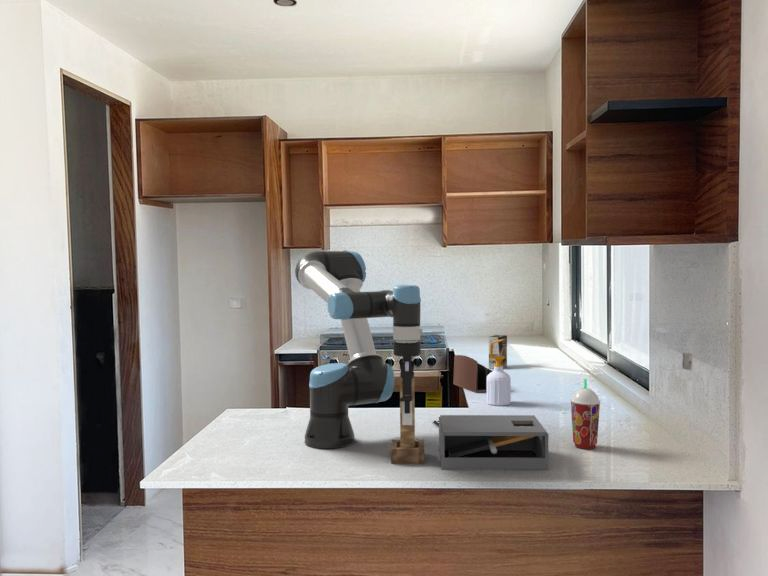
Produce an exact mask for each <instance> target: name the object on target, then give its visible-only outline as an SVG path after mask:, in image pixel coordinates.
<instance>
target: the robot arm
mask: <svg viewBox="0 0 768 576" xmlns="http://www.w3.org/2000/svg"><path fill="white" fill-rule="evenodd" d="M366 270H367V268H366V264H365V261H364V258H363V256H362V255H361V254H360V253H359V252H356V251H350V250H346V249H345V250H341V251H340V250H339V251H338V250H326V251H325V250H316V251H314V250H313V251H311V252H307V253H306V254H304V255H303V256H302V257H300V259H299V260H298V261H297V263H296V264H295V268H294V274H295V278H296V280H297V282H298V284H300V285H301V286H302V287H304V288H305V289H306V290H307V289H308V290H312V291H313V292H314V293H315V294H316V295H317V296H318V297H320V298H321V299H322V300H323V301H324V302H325V303H326V304H327V311H328V313H329V317H330V318H332V320H340V323H341V327H342V331H343V335H344V339H345V344H346V348H347V352H348V357H349V361H348V362H347V363H344V362H335V363H334V362H333V363H327V364H322V365H319V366H316V367H315V368H313V369H312V370H311V371H310V374H309V384H308V386H309V387H308V388H309V411H310V412H309V415H310V416H309V420H308V423H307V427H306V430H305V433H304V444H305V445H306V446H309V447H311V448H316V449H337V448H338V449H339V448H344V447H348V446H350V445H352V444H354V443H355V431H354V428H353V426H352V423H351V421H350V416H349V406H358V405H367V404H378V403H380V402H386V401H387V400H389V399H390V398H391V397H392V394H393V392H394V387H395V373H394V370H393V367H392V366H391V364H390V363H384V359H383V356H382V355H381V354H378V353H377V352H376V351H377V350H376V347H375V343H374V339H373V336H372V332H371V328H370V325H369V324H370V323H369V321H368V319H373V318H374V319H375V318H392V321H393V323H392V324H393V325H392V339H393V340H394V341H393V349H392V351H393V355H394V356H397V357H402V360H400V361H399V369H400V372H401V378H402V383H403V397H402V398H400V397H399V402H400V401H402V425H412V378H413V372H414V369H415V361H414V360H413V357H417V356H420V355H421V344H422V343H421V341H420V340H421V333H423V328H421V301H422V298H421V292H420V291H421V290H420V287H419V286H418V285H415V284H413V285H412V284H399V285H395V286H393V288H392V290H390V289H386V290H385V289H384V290H377V291H374V290H373V291H361V289H362V287H363V285H364V283H365V281H366V277H367V272H366ZM405 395H409V396H405Z"/></svg>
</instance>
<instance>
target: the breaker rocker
mask: <svg viewBox="0 0 768 576" xmlns="http://www.w3.org/2000/svg"><path fill="white" fill-rule="evenodd" d="M532 437H535V436H495V437H491V436H485V438H486V439H484V440H480V441H476V442H472V443H468V444H464V445H460V446H457V447H453V448H449V449H448V450H447V452H448V457H464V456H466V455H470V454H473V453H478V452H482V451H487V450H486V449H490V450H489V451H490V452H491V454H492V455H496V454H497V453H498V450H497V449H496V447H497V446H501V445H505V444H509V443H513V442H517V441H521V440H524V439H528V438H532Z"/></svg>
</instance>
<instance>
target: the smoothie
mask: <svg viewBox="0 0 768 576" xmlns="http://www.w3.org/2000/svg"><path fill="white" fill-rule="evenodd" d="M583 382H584V383H583V384H584V385H583V386H584V388H583V387H582V388H580V389H577V390H576V391H575V392H574V393H573V395H572V397H571V398H570V408H571V409H570V410H571V428H572V441H573V443H574V446H575V447H576V448H578V449H582V450H593V449H595V448H596V446H597V444H598V438H599V437H598V435H599V421H600V409H601V400H600V399H599V397H598V395H597V393H596V392H595V391H594V390H592V389H590V388H588V387H587V386H588V385H587V383H588V381H587V378H585V379H584V381H583Z"/></svg>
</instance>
